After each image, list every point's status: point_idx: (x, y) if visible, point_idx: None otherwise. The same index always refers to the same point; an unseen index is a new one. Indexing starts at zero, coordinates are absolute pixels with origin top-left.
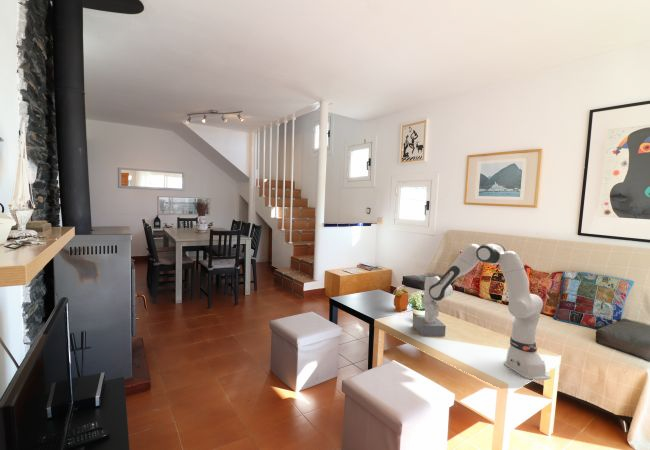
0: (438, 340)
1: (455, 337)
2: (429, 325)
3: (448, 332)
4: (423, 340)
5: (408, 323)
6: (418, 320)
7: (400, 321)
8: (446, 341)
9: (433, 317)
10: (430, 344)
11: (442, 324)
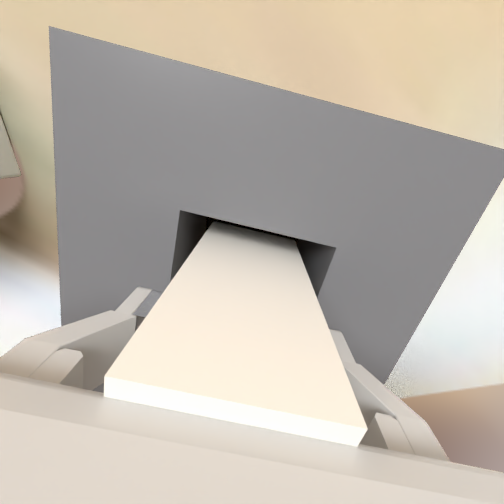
0: (445, 279)
1: (495, 35)
2: (375, 376)
3: (343, 16)
4: (387, 379)
5: (56, 309)
6: None
7: (14, 345)
8: (501, 224)
9: (320, 318)
10: (462, 374)
11: (437, 168)
